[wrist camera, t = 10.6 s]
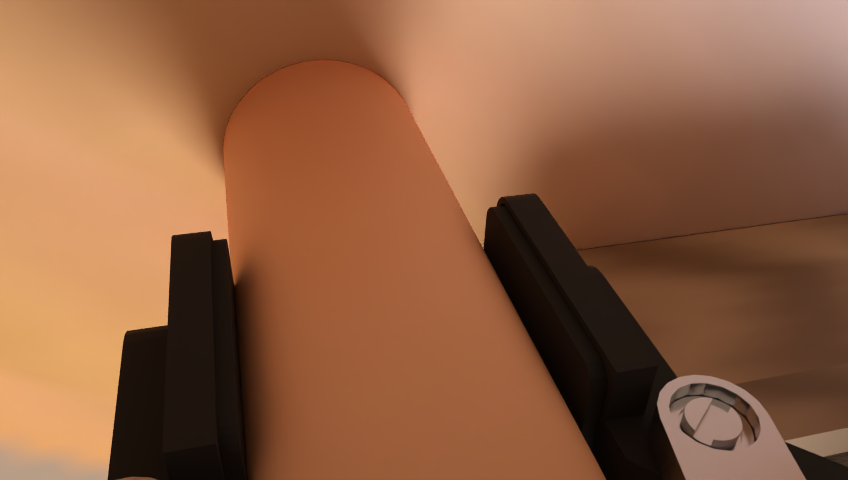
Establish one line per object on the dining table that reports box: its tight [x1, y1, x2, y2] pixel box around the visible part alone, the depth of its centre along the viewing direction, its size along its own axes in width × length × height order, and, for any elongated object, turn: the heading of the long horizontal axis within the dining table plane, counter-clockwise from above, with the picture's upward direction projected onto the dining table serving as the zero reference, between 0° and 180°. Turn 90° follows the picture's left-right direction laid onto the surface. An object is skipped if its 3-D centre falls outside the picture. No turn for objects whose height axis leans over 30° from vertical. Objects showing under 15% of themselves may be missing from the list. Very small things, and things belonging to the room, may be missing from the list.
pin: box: [223, 60, 606, 480], centre depth 10 cm, size 6×6×14 cm
